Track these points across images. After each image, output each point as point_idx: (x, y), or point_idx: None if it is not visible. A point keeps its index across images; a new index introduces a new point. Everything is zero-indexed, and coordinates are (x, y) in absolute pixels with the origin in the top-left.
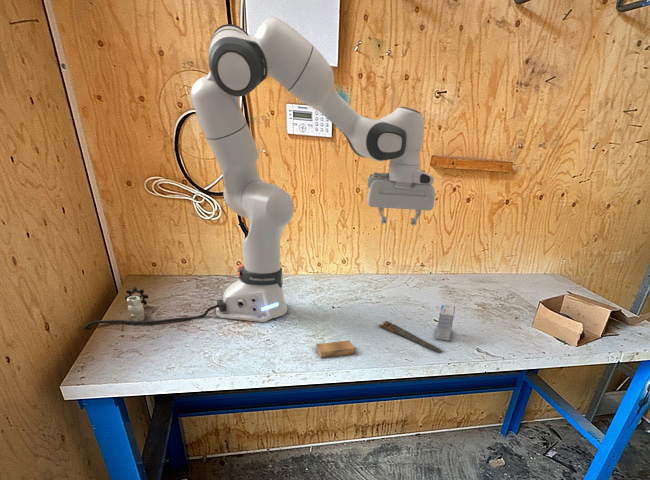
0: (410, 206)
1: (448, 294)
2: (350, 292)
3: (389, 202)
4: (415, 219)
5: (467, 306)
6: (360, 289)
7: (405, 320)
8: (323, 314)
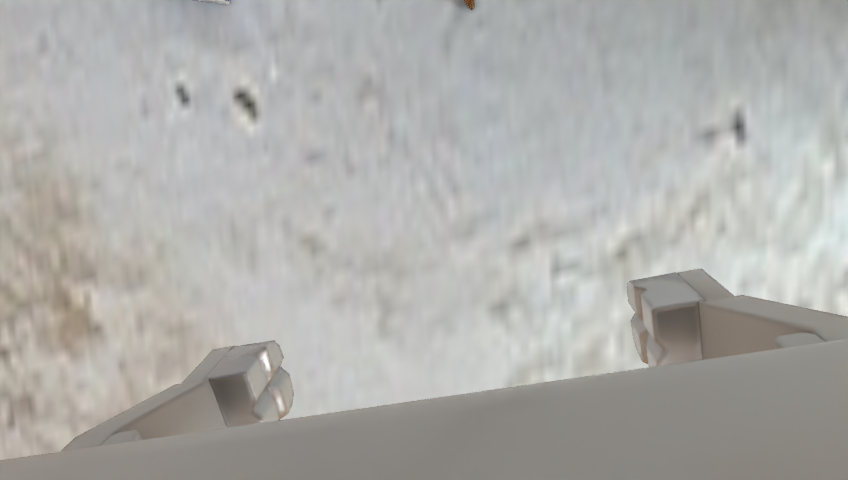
0: (192, 455)
1: None
2: None
3: (760, 426)
4: (199, 379)
5: (129, 299)
6: None
7: (382, 66)
8: (790, 24)
